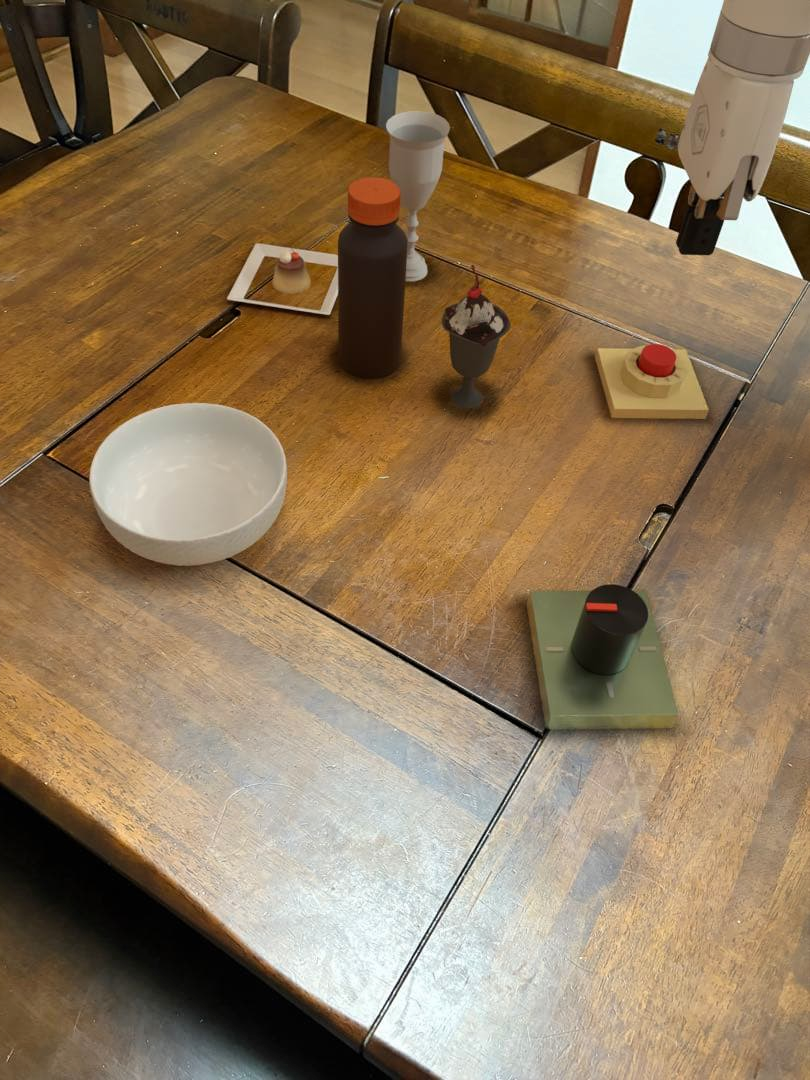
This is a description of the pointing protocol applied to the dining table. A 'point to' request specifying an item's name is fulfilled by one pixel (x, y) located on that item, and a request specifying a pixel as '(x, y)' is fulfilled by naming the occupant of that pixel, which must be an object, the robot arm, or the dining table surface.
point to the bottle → (371, 280)
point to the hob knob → (609, 629)
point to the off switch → (649, 387)
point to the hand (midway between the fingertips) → (693, 249)
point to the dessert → (286, 275)
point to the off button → (657, 360)
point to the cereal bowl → (189, 483)
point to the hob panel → (591, 696)
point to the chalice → (416, 170)
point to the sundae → (473, 340)
